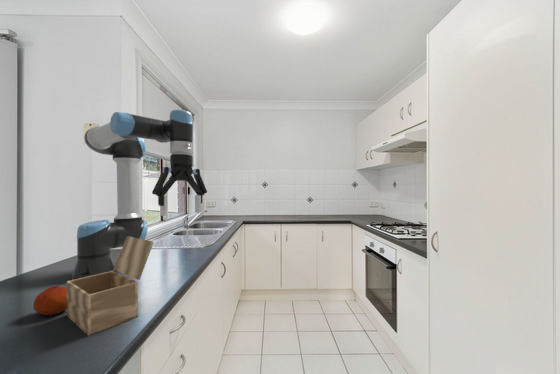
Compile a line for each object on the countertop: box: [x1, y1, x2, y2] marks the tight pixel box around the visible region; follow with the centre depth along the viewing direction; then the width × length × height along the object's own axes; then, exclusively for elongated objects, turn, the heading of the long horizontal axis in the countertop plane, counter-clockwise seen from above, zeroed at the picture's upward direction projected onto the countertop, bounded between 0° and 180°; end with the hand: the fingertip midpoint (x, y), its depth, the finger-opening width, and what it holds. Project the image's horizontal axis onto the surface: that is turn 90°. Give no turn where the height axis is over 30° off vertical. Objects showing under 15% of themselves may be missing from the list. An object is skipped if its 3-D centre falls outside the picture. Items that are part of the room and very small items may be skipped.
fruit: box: [33, 285, 67, 316], centre depth 79 cm, size 9×9×8 cm
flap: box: [114, 236, 155, 281], centre depth 83 cm, size 17×11×1 cm
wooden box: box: [66, 271, 139, 337], centre depth 76 cm, size 18×12×10 cm, turn 53°
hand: (181, 214), depth 93 cm, fingers open, 13 cm apart
